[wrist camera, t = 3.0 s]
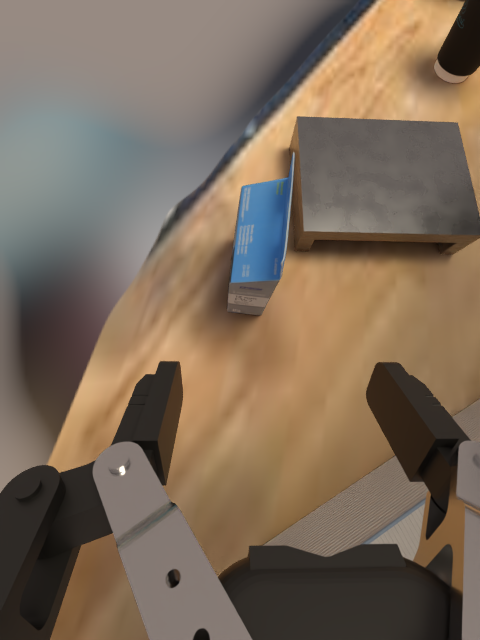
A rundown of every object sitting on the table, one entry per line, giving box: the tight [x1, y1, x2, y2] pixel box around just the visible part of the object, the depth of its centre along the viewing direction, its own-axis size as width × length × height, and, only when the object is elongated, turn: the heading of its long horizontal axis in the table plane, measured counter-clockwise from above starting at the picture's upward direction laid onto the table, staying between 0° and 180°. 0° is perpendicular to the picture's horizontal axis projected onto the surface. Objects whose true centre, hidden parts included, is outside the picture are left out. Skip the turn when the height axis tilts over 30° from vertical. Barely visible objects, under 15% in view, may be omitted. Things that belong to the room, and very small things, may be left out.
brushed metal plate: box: [290, 116, 480, 254], centre depth 31 cm, size 18×14×4 cm
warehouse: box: [263, 399, 480, 561], centre depth 22 cm, size 30×14×8 cm, turn 119°
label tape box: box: [227, 152, 295, 315], centre depth 24 cm, size 9×4×12 cm, turn 174°
